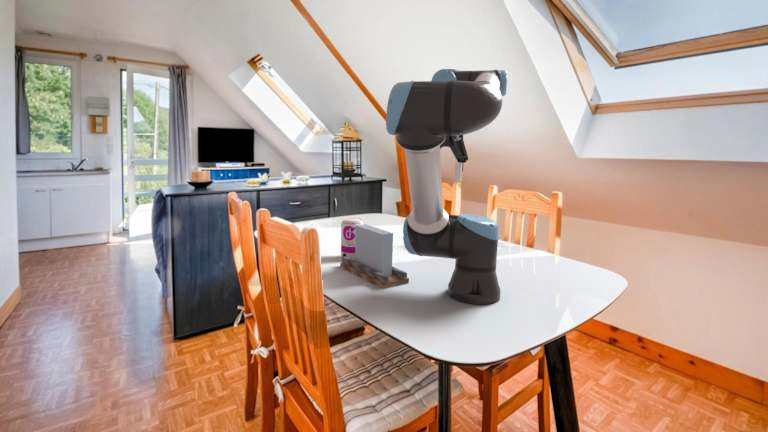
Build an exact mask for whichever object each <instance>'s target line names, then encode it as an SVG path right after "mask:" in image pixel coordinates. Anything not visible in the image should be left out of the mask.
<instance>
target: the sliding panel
mask: <svg viewBox="0 0 768 432" xmlns="http://www.w3.org/2000/svg"><path fill="white" fill-rule="evenodd" d="M393 241H394V233H393V232H390V231H387V230H385V229H381V228H378V227H375V226H372V225H369V224H365V223H363V225H356V231H355V261H356V262H358V263H360V264H363V265H365V266H367V267H369V268H371V269H373V270H375V271H377V272H380V273H382V274H384V275H386V276H392V267H393V251H394V250H393V247H394V245H393V243H394V242H393Z"/></svg>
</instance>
